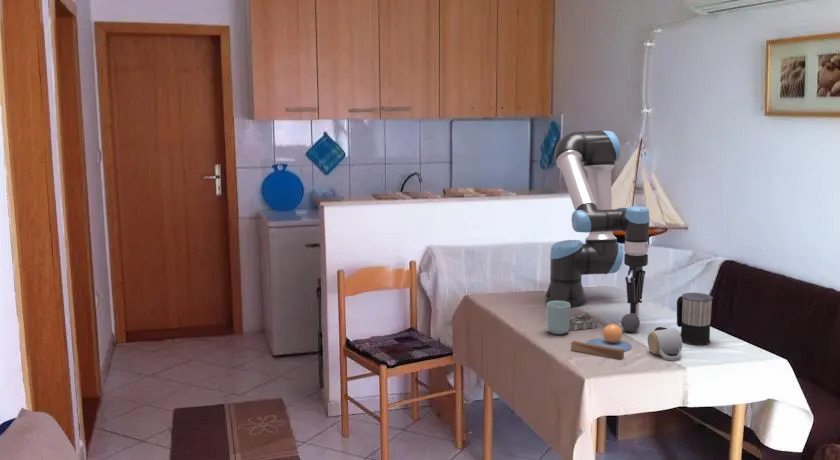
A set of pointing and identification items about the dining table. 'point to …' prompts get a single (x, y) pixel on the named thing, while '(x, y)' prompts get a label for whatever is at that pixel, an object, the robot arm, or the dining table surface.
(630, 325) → the dark gray ball
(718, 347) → the dining table surface
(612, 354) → the wall
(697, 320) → the milk frother
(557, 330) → the cup
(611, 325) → the terracotta ball
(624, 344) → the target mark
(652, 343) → the ceramic mug
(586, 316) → the egg carton
